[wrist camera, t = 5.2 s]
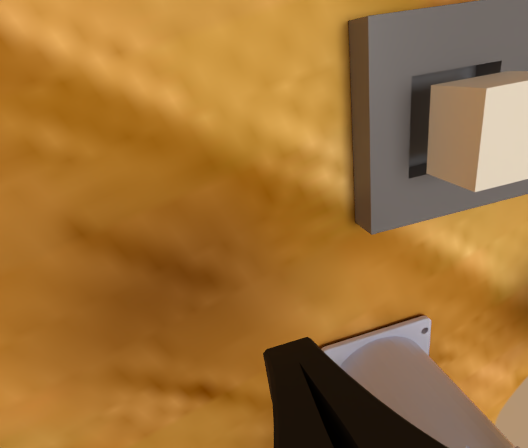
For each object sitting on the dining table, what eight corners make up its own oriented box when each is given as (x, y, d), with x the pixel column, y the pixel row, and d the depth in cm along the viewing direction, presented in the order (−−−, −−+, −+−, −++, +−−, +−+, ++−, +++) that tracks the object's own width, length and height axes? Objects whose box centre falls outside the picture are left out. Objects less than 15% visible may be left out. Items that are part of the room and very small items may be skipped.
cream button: (496, 156, 18) (554, 172, 16) (426, 173, 18) (474, 192, 15) (508, 71, 17) (575, 71, 14) (430, 85, 16) (486, 88, 13)
